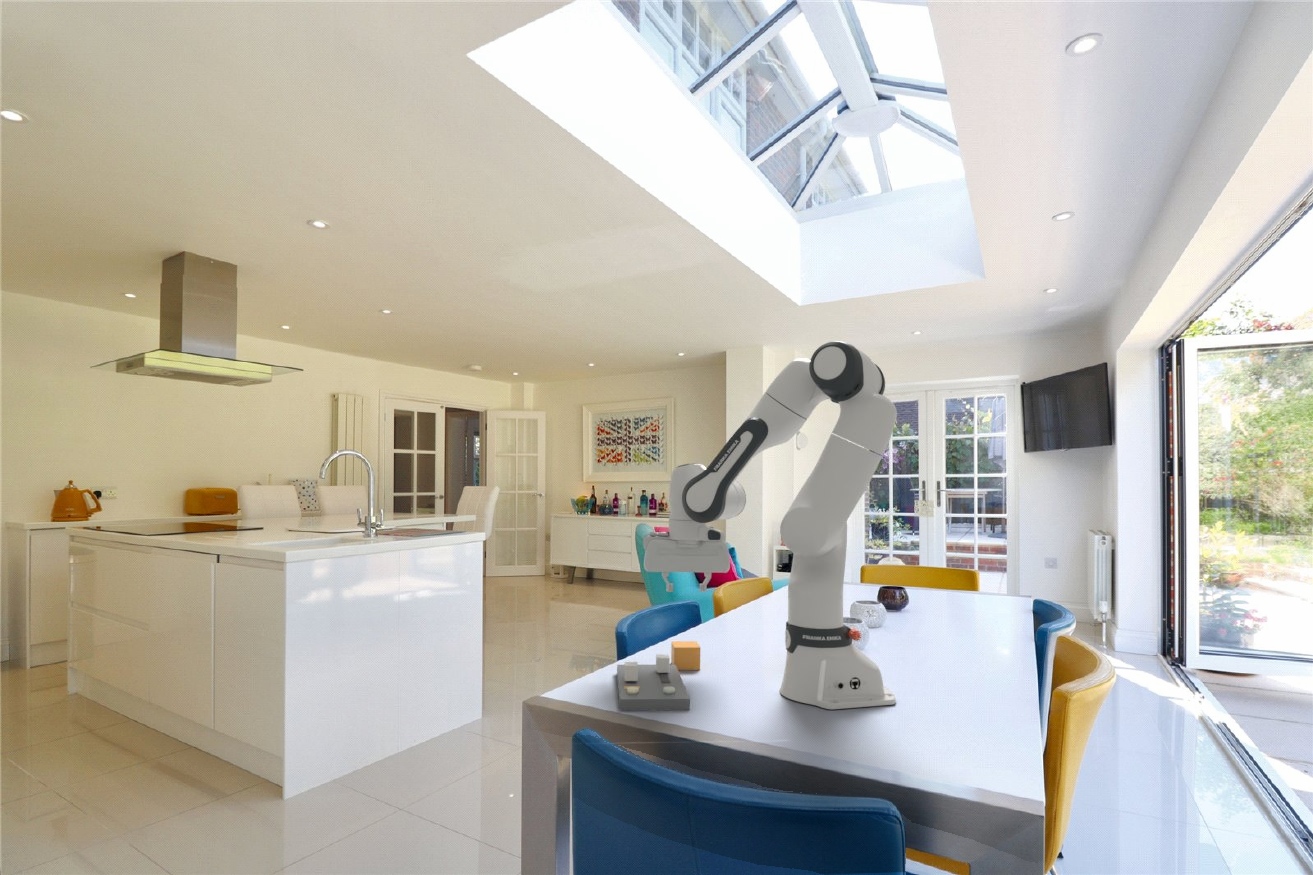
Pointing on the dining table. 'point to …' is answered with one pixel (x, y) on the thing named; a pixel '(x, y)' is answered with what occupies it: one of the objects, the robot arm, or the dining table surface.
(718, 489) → the robot arm
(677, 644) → the cap
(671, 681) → the breaker panel
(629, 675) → the block
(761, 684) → the dining table surface
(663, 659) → the block
